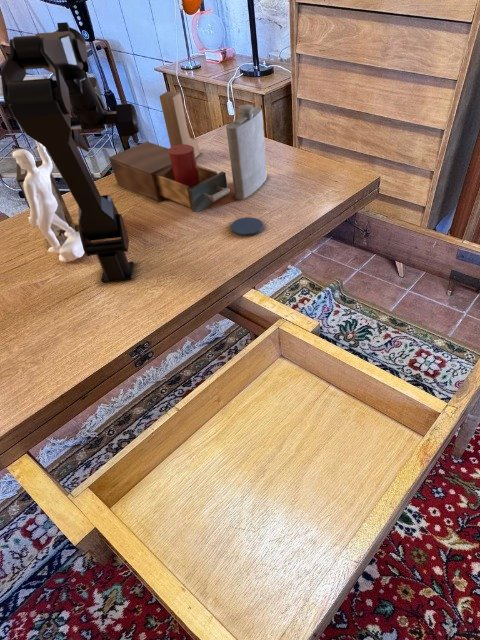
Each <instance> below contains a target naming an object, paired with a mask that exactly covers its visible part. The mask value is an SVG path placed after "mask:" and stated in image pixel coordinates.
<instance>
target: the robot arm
mask: <svg viewBox="0 0 480 640" xmlns="http://www.w3.org/2000/svg"><path fill="white" fill-rule="evenodd" d="M8 43H9V53H10V54H9V56H8V58H7V60H6V61H5V64H4V66H3V67H2V69H1V71H0V77H1V78H0V79H1V89H2V98H3V101H4V105H5V107H6V109H7V112H8V113H9V115H10V116H11V118H13V119H15V121H16V122H17V124H18V125H19V126H20V128H21V129H22V131H23V132H24V134H25V135H26V136H28V137H30V138H31V139H32V140H34V141H35V140H36V141H37V142H39V143H41V144H42V145H43V146H44V147H45V149H46V151H47V154H48V155H49V157H50V159H51V161H52V163H53V164H54V165H55V167H56V169H57V171H58V173H59V174H60V177H61V178H62V180H63V181H64V183H65V185H66V186H67V188H68V190H69V192H70V194H71V196H72V197H73V199H74V201H75V203H76V204H77V206H78V224H77V229H78V231H79V234H80V238H81V242H82V245H83V249H84V254H85V255H86V256H87V257H91V256H96V258H97V260H98V262H99V264H100V267H101V269H102V274H101V277H100V281H101V283H112V282H122V281H131V280H132V278H133V273H134V267H135V263H134V261H129V260H128V257H127V254H126V252H129V245H130V239H129V235H128V231H127V229H126V228H127V227H126V224H125V221H124V217H123V215H122V213H119V211H118V210H117V207H116V206H115V204H114V201H113V199H112V197H111V196H110V195H109V194H104V195H101V193H100V192H99V189H98V187H97V185H96V184H95V182H94V179H93V177H92V175H91V173H90V171H89V169H88V167H87V165H86V162H85V161H84V158H83V157H82V155H81V153H80V150H83V151H85V152H87V153H89V147H88V144H87V142H86V140H85V138H83V135H82V134H81V133H80V131H79V130H81V131H87V130H88V131H89V130H99V129H105V128H106V127H105V125H118V129H119V132H120V137H121V141H122V143H123V146H124V148H125V149H128V145H129V140H130V138H131V137H134V136H135V135H137V134H139V132H140V127H139V121H138V114H137V109H136V107H135V105H134V104H132V103H131V102H130V103H129V102H128V103H119V104H114V105H115V111H104V109H105V102H104V100H103V98H102V91H101V88H100V85H99V83H98V80H97V78H96V77H94V76H90V77H89V76H88V73H89V70H90V68H89V66H90V65H89V59H88V50H87V49H88V48H87V42H86V39H85V36H84V35H83V34H82V33H81V32H79V31H78V30H76V29H75V28H73V27H70V25H69V23H68V22H57V30H56V31H52V32H51V31H50V32H37V33H36V34H35V35H22V36H13V38H10V39H9V41H8ZM39 69H40V70H41V69H44V70H46V71H47V72H49V73H51V74H53V76H54V77H55V79H52V78H51V77H49V78H48V77H47V78H36V79H25V78H26V76H27V70H39ZM71 113H73V115H74V116H72V115H71ZM79 149H80V150H79Z"/></svg>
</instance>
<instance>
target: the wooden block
mask: <svg viewBox="0 0 480 640" xmlns="http://www.w3.org/2000/svg"><path fill="white" fill-rule="evenodd" d="M182 99H183V98H182V94H181V92H178V91H169V90H167V91H165V92H164V93H161V94H160V95H159V102H160V105H161V110H162V114H163V119H164V124H165V128H166V132H167V137H168V142H169V146H170V148H171V147H173V146H175V145H181V144H186V145H191V146H192V147H193V148H194V153H195V158H197V157H198V156H199V155H200V154H201V152H200V146H199V140H198V139H197V138H194V137H191V136H190V133H189V131H188V130H189V129H188V126H187V125H188V124H187V119H186V114H185V110H184V104H183V100H182Z"/></svg>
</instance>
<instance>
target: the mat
mask: <svg viewBox="0 0 480 640" xmlns="http://www.w3.org/2000/svg"><path fill="white" fill-rule="evenodd" d="M230 229H231V232H232V233H233V234H235V235H237V236H242V237H248V236H249V237H250V236H255V235H257V234H259V233H261V232H262V230H263V229H264V224H263V222H262V221H261V220H260V219H258V218H257V217H256V218H255V217H242V218H238V219H236V220H234V221H233V222H232V223H231V225H230Z"/></svg>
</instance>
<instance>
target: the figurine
mask: <svg viewBox="0 0 480 640" xmlns="http://www.w3.org/2000/svg"><path fill="white" fill-rule="evenodd" d="M34 142H35V144H36V149H37V152H38V155H39V157H40V160H42V162H43V163H42V165H41V166H40V167H38V168H37V167H36V165H35V161H36V160H35V158H34V155H33V154H32V153H31V152H30V151H29V150H27V149H23V148H21V149H15V150H14V151H13V152H12V157H13V158H14V159H15V162H16V164H19V166H20V167H21V168H22V169H26V170H27V171H28V174H27V175H26V177H25V181H24V183H23V187H24V191H25V194H26V198H27V200H28V202H27V204H28V203H29V204H28V206H29V212H30V213H29V216H28V217H27V219H28V224H29V225H30V226H31V227H33V228H37V227H38V229H39V231H40V232H41V234H42V236H44V238H45V237H46V238H45V240H46V239H47V240H48V241H49V243H50V244H51V247H50V246H49V248H48V252H49V254H59V255H58V260H59V261H60V262H61V263H70V262H74V261H75V260H77V259H80V258H82V257H83V256H84V255H85V252H84V249H83V245H82V242H81V238H80V234H79V230H78V231H76V229H75V230H74V229H73V228H71V227H69V225H68V224H67V223H66V222H64V221H63V220H61V219H60V218H59V217H58V216H57V215H56V214H55V211H56V210H57V207H58V203H57V201H56V198H55V197H54V196H53V194H52V188H51V180H50V174H51V173H52V171H53V160H52V158H51V157H50V155H49V153H48V151H47V149H46V148H45V146H44V145H42V144H41V143H39V142H37V141H36V140H34ZM26 198H25V199H26ZM27 200H26V201H27ZM52 223H53V224H54V225H57V226H58V227H60V228H61V229H63V230H65V231H66V232H65V233H64V235H65V236H66V237H68V238H67V240H66V241H65V243H64V244H62V245H60V244H59V241H58V240H57V238H56V236H55V234H54V233H53V231H52V230H51V228H50V227H51V224H52ZM47 240H46V241H47Z"/></svg>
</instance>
